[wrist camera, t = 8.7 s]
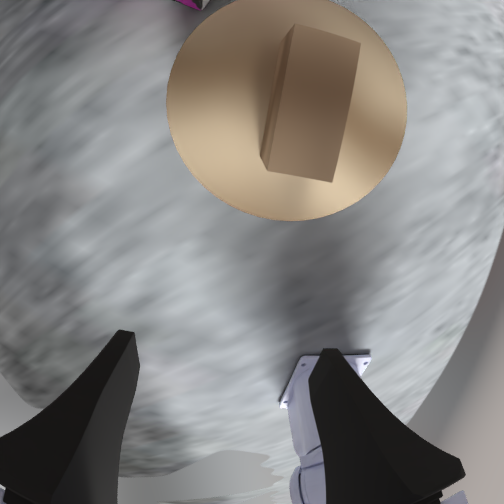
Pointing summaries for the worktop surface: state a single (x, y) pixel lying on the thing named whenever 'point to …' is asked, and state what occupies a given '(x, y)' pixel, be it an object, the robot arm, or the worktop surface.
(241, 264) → the worktop surface
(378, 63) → the lid
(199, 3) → the candy bar box
